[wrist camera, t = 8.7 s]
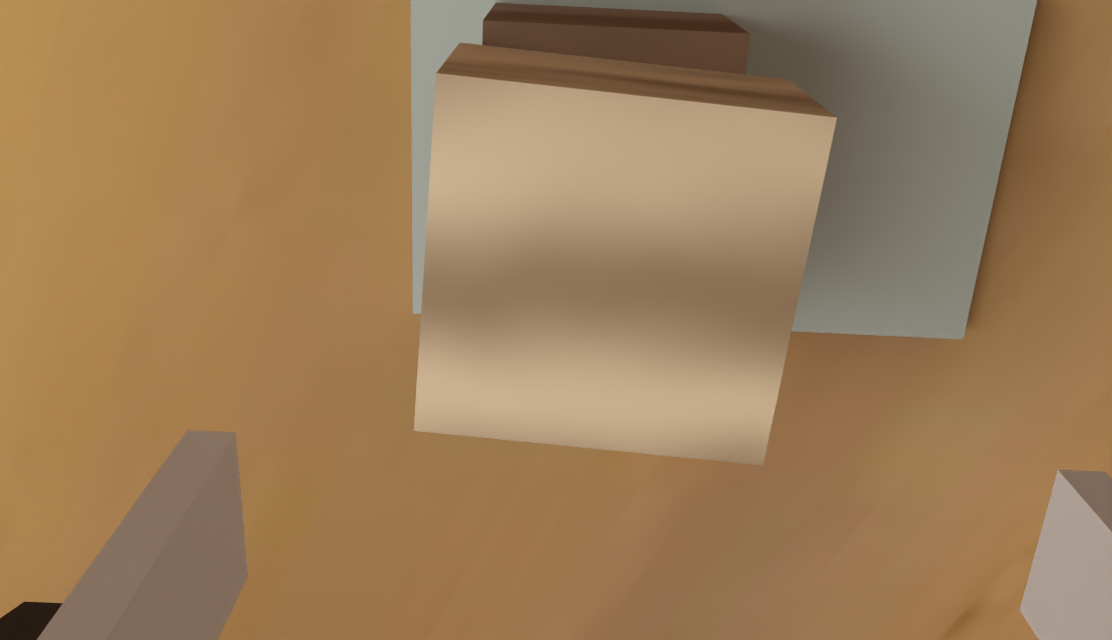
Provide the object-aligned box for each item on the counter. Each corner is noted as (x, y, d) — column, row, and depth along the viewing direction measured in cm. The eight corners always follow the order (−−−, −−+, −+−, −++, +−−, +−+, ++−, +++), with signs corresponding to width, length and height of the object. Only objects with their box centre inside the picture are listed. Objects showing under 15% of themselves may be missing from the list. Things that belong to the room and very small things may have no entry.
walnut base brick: (495, 2, 36) (482, 20, 30) (721, 13, 36) (750, 33, 30) (488, 316, 40) (475, 382, 35) (688, 326, 40) (708, 393, 35)
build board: (415, -34, 36) (410, -32, 35) (1022, -3, 37) (1037, -1, 35) (417, 302, 41) (413, 313, 40) (952, 327, 41) (962, 339, 40)
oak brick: (459, 42, 30) (436, 73, 25) (788, 79, 31) (837, 117, 25) (438, 345, 34) (414, 430, 29) (730, 375, 34) (762, 465, 29)
